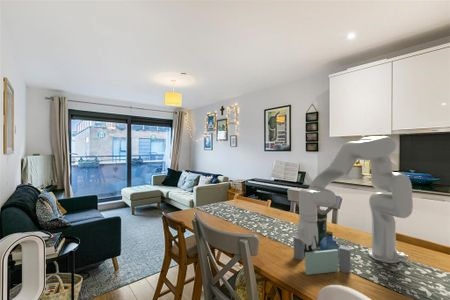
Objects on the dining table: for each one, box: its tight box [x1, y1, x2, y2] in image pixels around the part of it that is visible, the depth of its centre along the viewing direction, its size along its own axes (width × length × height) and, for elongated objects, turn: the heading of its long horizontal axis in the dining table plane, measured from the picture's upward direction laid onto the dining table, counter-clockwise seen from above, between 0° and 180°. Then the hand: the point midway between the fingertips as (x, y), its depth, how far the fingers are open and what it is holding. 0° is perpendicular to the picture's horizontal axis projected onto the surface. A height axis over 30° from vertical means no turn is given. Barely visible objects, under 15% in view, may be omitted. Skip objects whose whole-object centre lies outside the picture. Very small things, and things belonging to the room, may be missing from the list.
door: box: [304, 249, 339, 276], centre depth 95 cm, size 15×1×9 cm, turn 100°
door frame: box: [293, 235, 352, 274], centre depth 102 cm, size 24×3×10 cm, turn 55°
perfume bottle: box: [319, 230, 340, 260], centre depth 109 cm, size 6×6×12 cm
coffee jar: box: [317, 208, 328, 246], centre depth 125 cm, size 10×8×19 cm
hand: (308, 257), depth 99 cm, fingers closed
